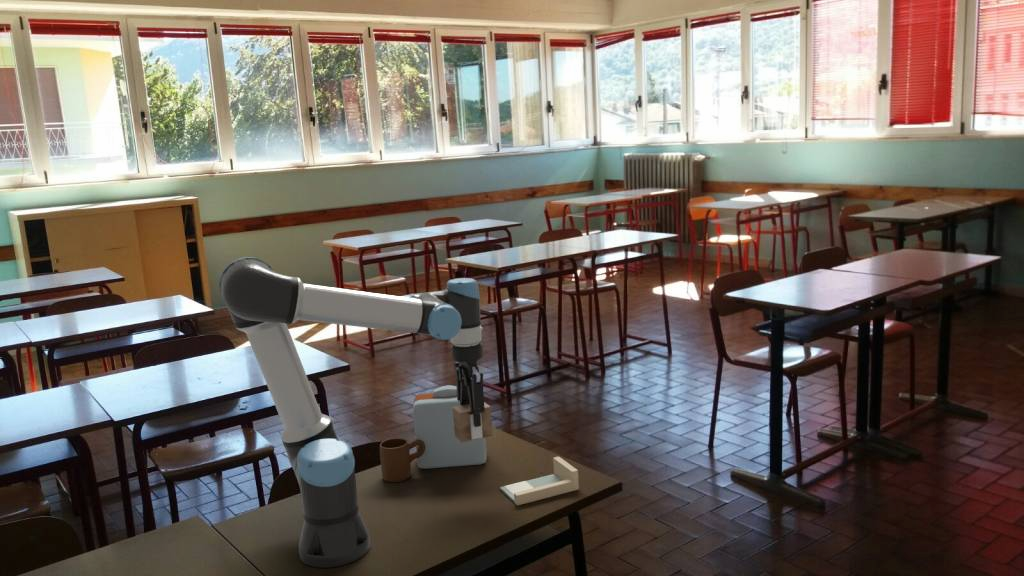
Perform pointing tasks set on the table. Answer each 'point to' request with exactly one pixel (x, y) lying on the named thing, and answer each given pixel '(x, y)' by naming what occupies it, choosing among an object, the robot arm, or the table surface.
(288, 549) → the table surface
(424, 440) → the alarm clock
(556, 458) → the toy stand
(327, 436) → the robot arm
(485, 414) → the block
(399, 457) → the mug
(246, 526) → the table surface
